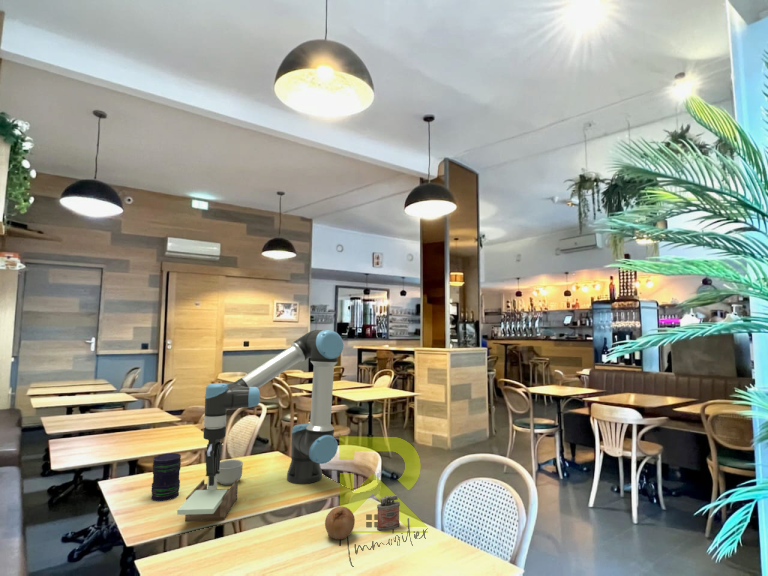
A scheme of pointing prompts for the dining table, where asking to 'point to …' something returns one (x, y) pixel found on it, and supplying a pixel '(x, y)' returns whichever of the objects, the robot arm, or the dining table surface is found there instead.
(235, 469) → the teacup
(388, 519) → the lighter
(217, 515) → the box
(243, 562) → the dining table surface
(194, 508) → the lid
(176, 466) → the dark blue barrel
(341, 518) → the brown rounded piece
